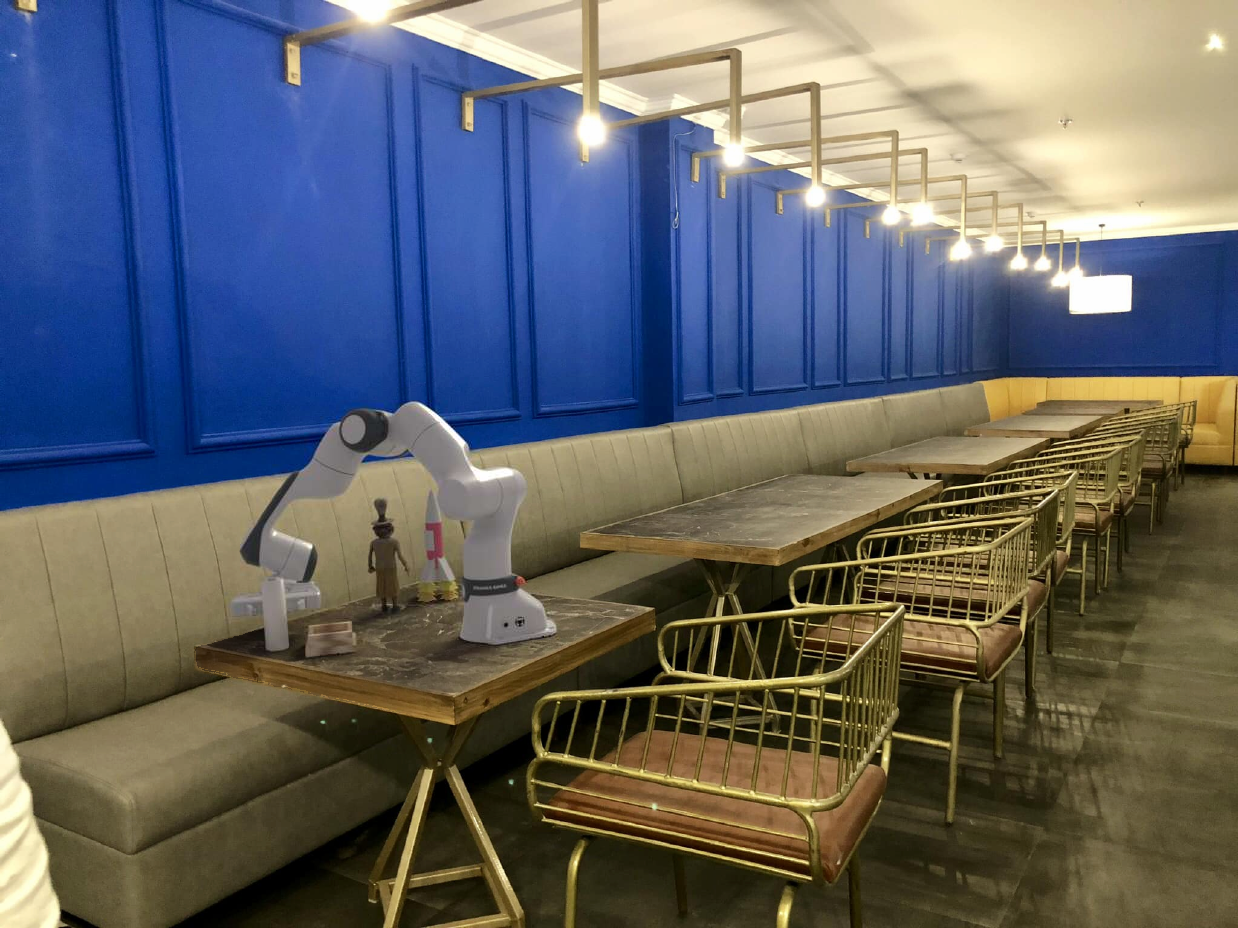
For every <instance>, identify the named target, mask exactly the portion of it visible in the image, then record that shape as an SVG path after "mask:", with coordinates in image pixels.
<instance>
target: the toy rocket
mask: <svg viewBox="0 0 1238 928" xmlns="http://www.w3.org/2000/svg"><path fill="white" fill-rule="evenodd" d="M434 491H435V490H434V489H433V488H431V489H430V490H429V492H428V496H427V500H426V501H427V502H426V509H425V510H426V511H425V520H424V525H425V528H424V530H423V537H424V538H423V539H424V540H423V541H424V550H425V551H426V560H425V562H424V565H423V567H422V570H421V572H420V573H419V576H418V579H419V583H418V585H417V586H416V588H418V591H417V592H419V593H418V594H417V596H416V598H418V600H417V601H425V602H429V601H432V600H435V601H437V600H436V599H437V598H436V597H435V596H436V595H435V594H436V593H434V592H436V591H438V589H437V587H439V586H440V588H439V591H441V592H439V594H443V595H441V597H440V598H439V600H440V599H445V600H444V601H448V600H451V601H453V600H452V599H454V598H457V599H459V598H458V597H459V595H458V591H456V590H457V589H459V587H458V585H457V582H456V581H455V580H456V578H455V575H454V572H453V570H452V568H451V567H450V565H449V563H448V561H447V559H446V557H445V555H444V541H443V538H444V537H443V525H442V524H443V522H442V517H441V511H440V509H439V506H438V503H437V495H436V494H435V492H434ZM436 570H437V573H436ZM436 574H437V575H436ZM436 576H437V577H436ZM437 578H438V581H439V582H438V584H437V587H436V584H435V583H434V582H435V581H437ZM455 593H457V594H455ZM433 595H435V596H433ZM454 600H455V599H454ZM425 602H424V603H425ZM432 602H433V601H432ZM429 603H430V602H429Z"/></svg>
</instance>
